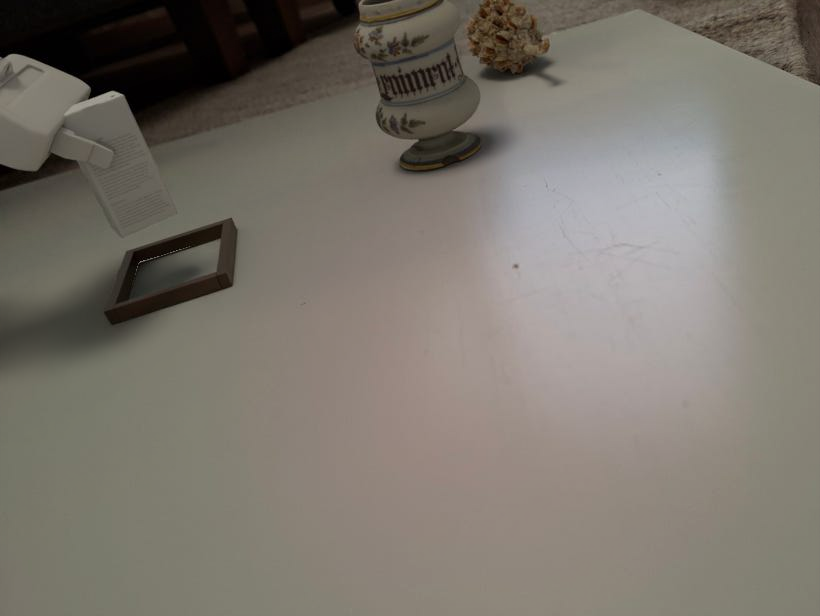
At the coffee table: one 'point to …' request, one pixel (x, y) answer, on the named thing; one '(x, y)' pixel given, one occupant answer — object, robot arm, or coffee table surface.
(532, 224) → the coffee table surface
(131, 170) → the cosmetic box
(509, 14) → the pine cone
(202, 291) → the brown wooden frame
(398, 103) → the apothecary jar
